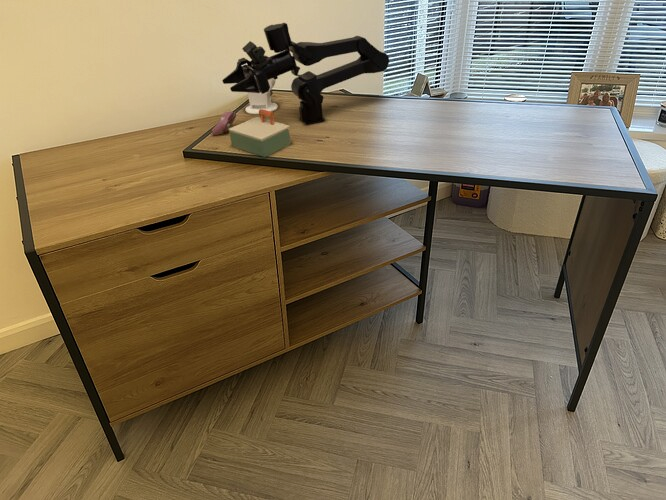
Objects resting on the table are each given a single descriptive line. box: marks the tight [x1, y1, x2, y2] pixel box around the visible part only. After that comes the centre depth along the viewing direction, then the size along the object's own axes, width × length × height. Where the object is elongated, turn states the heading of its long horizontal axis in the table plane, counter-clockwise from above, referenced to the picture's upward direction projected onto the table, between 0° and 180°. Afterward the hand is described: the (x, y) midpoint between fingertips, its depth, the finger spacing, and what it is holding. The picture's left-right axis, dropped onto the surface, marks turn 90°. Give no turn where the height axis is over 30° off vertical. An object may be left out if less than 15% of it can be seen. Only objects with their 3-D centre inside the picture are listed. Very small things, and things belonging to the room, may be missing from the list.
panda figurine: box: [244, 78, 278, 115], centre depth 164 cm, size 12×11×15 cm
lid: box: [228, 109, 291, 141], centre depth 138 cm, size 11×14×4 cm
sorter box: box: [228, 128, 291, 158], centre depth 141 cm, size 10×14×5 cm
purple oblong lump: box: [211, 109, 237, 136], centre depth 152 cm, size 10×5×7 cm, turn 168°
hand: (226, 85), depth 139 cm, fingers open, 9 cm apart
